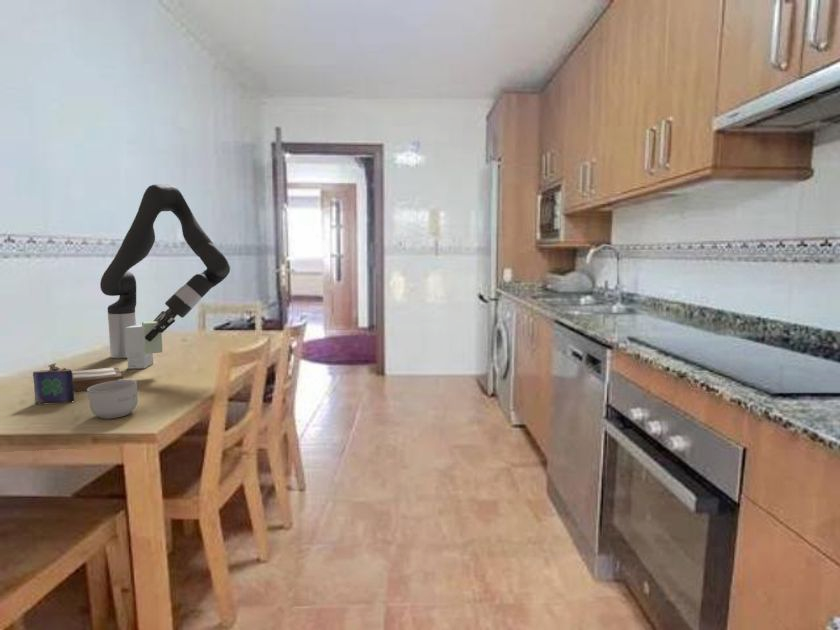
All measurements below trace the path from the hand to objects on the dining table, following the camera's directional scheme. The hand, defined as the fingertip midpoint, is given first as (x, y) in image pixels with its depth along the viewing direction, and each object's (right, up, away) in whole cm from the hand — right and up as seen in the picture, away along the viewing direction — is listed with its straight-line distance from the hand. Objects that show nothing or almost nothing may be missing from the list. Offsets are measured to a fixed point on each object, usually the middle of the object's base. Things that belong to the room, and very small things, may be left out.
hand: (146, 338), depth 170 cm
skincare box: (-10, -11, +15) cm, 21 cm away
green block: (+1, -5, +2) cm, 5 cm away
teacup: (+13, -18, -38) cm, 44 cm away
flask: (-9, -16, -29) cm, 35 cm away
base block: (-11, -14, -10) cm, 20 cm away
